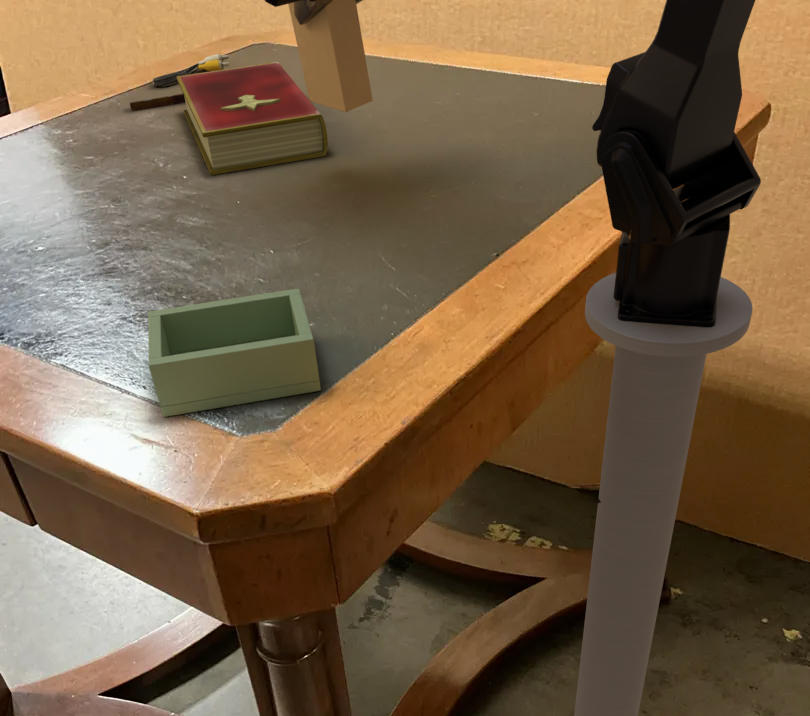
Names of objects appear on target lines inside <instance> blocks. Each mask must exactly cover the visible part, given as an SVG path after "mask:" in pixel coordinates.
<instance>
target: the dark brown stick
mask: <svg viewBox="0 0 810 716" xmlns="http://www.w3.org/2000/svg"><path fill="white" fill-rule="evenodd" d="M180 104H186V102H185V97H184V94H183V93H177V94H173V95H170V96H168V95H167V96H161V97H160V96H159V97H155V98H148V99H143V100H136V101H130V102H129V106H130V110H131V112H136V111H137V112H138V111H143V110H148V109H155V108H162V107H168V106H172V105H180Z"/></svg>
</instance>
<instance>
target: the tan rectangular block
mask: <svg viewBox="0 0 810 716" xmlns="http://www.w3.org/2000/svg"><path fill="white" fill-rule="evenodd" d="M287 5H288V10H289V13H290V14H289V15H290V19H291V23H292V27H293V32H294V37H295V41H296V46H297V50H298V55H299V59H300V64H301V69H302V73H303V78H304V83H305V87H306V92H307V98H308V99H309V101H310V102H311V103H315V104H318V105H322V106H325V107H328V108H331V109H334V110H337V111H340V112H344V113H347V112H350V111H352V110H354V109H357V108H359V107H362V106H364V105H367V104H369V103H371V102H373V101H374V100H373V94H372V88H371V87H372V86H371V82H370V77H369V69H368V65H367V59H366V53H365V47H364V42H363V41H364V40H363V36H362V35H363V34H362V30H361V24H360V18H359V13H358V11H359V10H358V4H356V0H333V1H332V2H331V3H329V4H328V5H327V6H326V7H325V8H324V9H322V10H321V11H320V12H319V13H318V14H317V15H315V16H314V17H313V18H312V19H311V20H309V21H308V22H307V23H305V24H303V25H300V24H299V22H298V20H297V19H296V17H295V15H294V3H290V4H287Z"/></svg>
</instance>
